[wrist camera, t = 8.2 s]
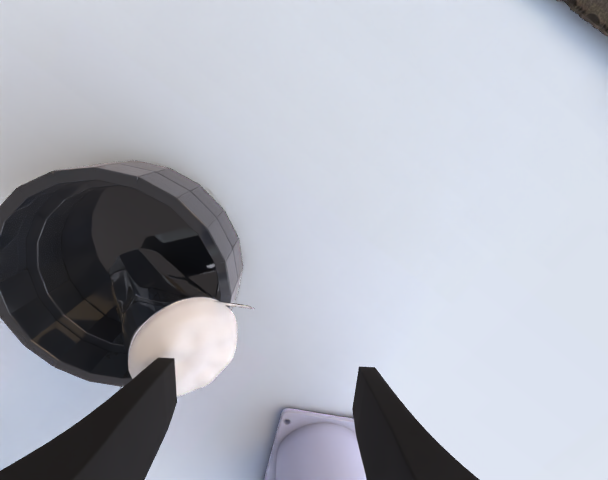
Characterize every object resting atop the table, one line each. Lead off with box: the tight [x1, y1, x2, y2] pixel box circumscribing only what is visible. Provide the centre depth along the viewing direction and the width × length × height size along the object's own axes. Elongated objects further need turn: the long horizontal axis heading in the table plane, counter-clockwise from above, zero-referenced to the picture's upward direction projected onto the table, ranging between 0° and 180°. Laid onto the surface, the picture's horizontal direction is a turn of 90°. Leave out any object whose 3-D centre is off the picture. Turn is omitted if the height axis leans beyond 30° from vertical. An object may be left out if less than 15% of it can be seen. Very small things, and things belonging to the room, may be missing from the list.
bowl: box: [0, 161, 243, 387], centre depth 19 cm, size 12×12×4 cm
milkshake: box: [109, 248, 254, 396], centre depth 16 cm, size 4×5×10 cm
